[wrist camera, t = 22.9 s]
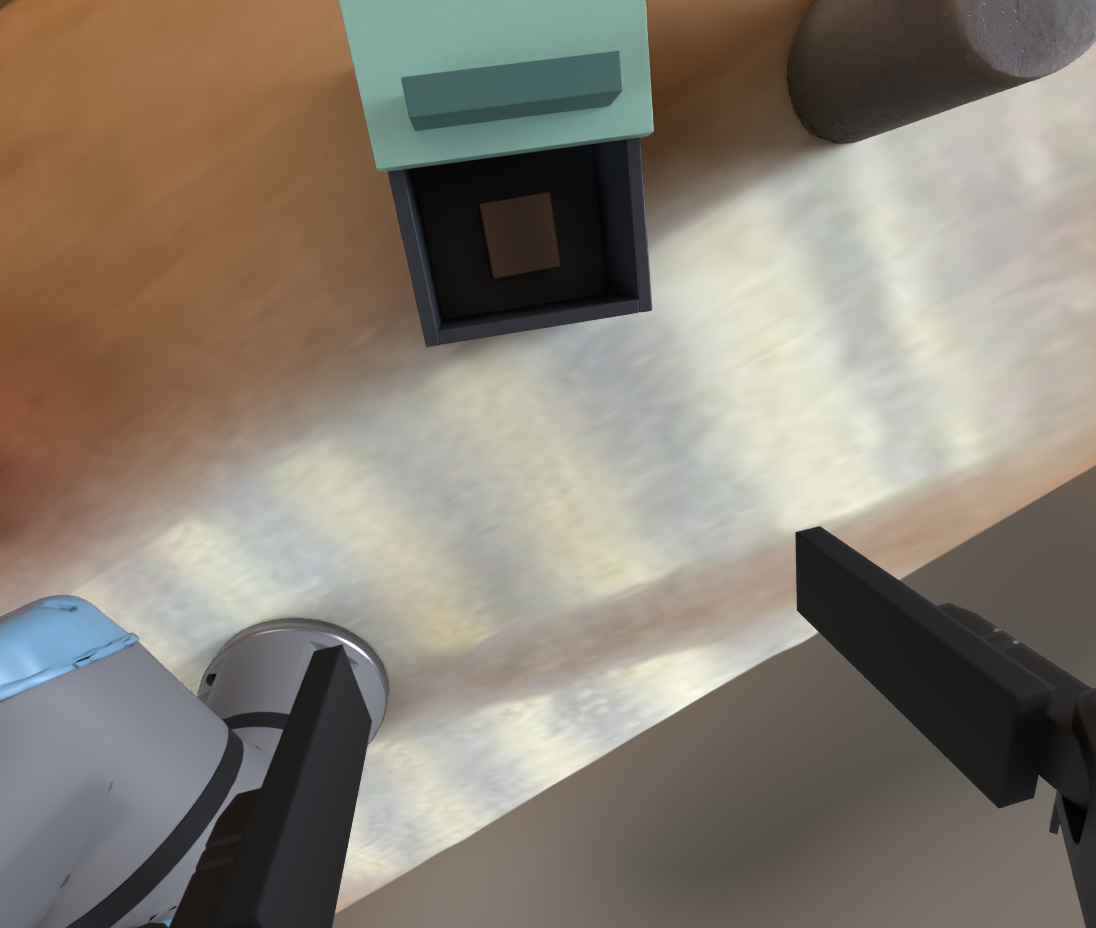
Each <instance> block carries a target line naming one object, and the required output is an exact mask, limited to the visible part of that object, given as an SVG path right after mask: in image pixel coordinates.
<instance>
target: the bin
mask: <svg viewBox="0 0 1096 928" xmlns="http://www.w3.org/2000/svg"><path fill="white" fill-rule="evenodd" d="M388 175H389V179H390V184H391V188H392V193H393V197H394V202H395V207H396V211H397V216H398V220H399V225H400V229H401V234H402V238H403V243H404V248H405V252H406V257H407V261H408V266H409V270H410V275H411V279H412V284H413V289H414V293H415V298H416V302H417V307H418V311H419V316H420V320H421V325H422V330H423V334H424V339H425V343H426V347H430V346H436V345H440V344H448V343H454V342H460V341H467V340H473V339H479V338H485V337H491V336H498V335H504V334H510V333H516V332H522V331H528V330H535V329H541V328H547V327H553V326H559V325H566V324H572V323H578V322H584V321H590V320H597V319H603V318H609V317H615V316H621V315H627V314H634V313H638V312H646V311H651V310H652V299H651V285H650V271H649V257H648V242H647V228H646V214H645V199H644V185H643V171H642V157H641V142H640V137H639V138H632V139H625V140H617V141H610V142H602V143H595V144H588V145H580V146H573V147H565V148H558V149H551V150H543V151H536V152H528V153H521V154H514V155H506V156H499V157H492V158H484V159H477V160H469V161H462V162H455V163H447V164H440V165H432V166H425V167H418V168H410V169H403V170H395V171H388ZM546 191H550V194H551V201H552V207H553V214H554V221H555V228H556V234H557V241H558V248H559V255H560V261H561V267H558V268H553V269H547V270H542V271H536V272H531V273H525V274H520V275H514V276H509V277H503V278H498V279H493V278H491V276H490V271H489V266H488V261H487V256H486V251H485V245H484V240H483V235H482V230H481V225H480V220H479V215H478V208H479V203H482V202H488V201H494V200H499V199H505V198H511V197H517V196H523V195H529V194H535V193H541V192H546Z"/></svg>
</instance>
